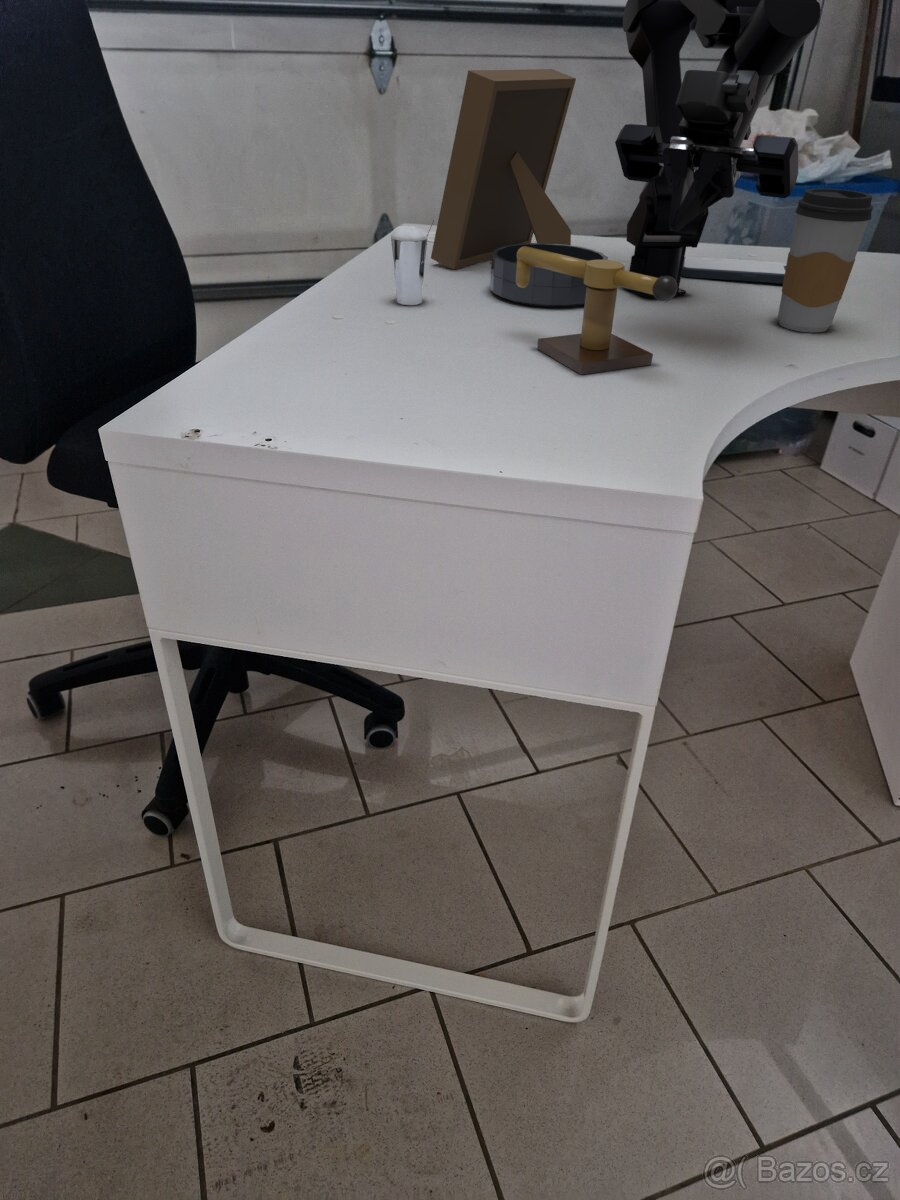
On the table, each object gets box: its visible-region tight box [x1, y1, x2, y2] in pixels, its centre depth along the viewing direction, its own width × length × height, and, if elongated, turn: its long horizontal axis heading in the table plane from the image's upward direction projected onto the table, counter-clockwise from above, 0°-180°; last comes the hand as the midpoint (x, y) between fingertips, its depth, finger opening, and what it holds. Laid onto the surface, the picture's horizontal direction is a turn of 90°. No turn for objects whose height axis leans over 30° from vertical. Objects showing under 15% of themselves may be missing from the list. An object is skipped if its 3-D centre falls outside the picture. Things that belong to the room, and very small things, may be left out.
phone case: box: [681, 256, 787, 285], centre depth 124 cm, size 9×2×16 cm
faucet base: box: [536, 286, 654, 376], centre depth 89 cm, size 9×9×7 cm
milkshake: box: [390, 219, 435, 306], centre depth 104 cm, size 5×5×10 cm
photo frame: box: [430, 68, 577, 271], centre depth 121 cm, size 15×22×25 cm
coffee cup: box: [777, 188, 874, 333], centre depth 99 cm, size 8×8×15 cm
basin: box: [489, 242, 609, 308], centre depth 111 cm, size 15×15×5 cm
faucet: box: [516, 246, 677, 303], centre depth 88 cm, size 21×4×5 cm, turn 44°
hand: (673, 228), depth 87 cm, fingers closed
